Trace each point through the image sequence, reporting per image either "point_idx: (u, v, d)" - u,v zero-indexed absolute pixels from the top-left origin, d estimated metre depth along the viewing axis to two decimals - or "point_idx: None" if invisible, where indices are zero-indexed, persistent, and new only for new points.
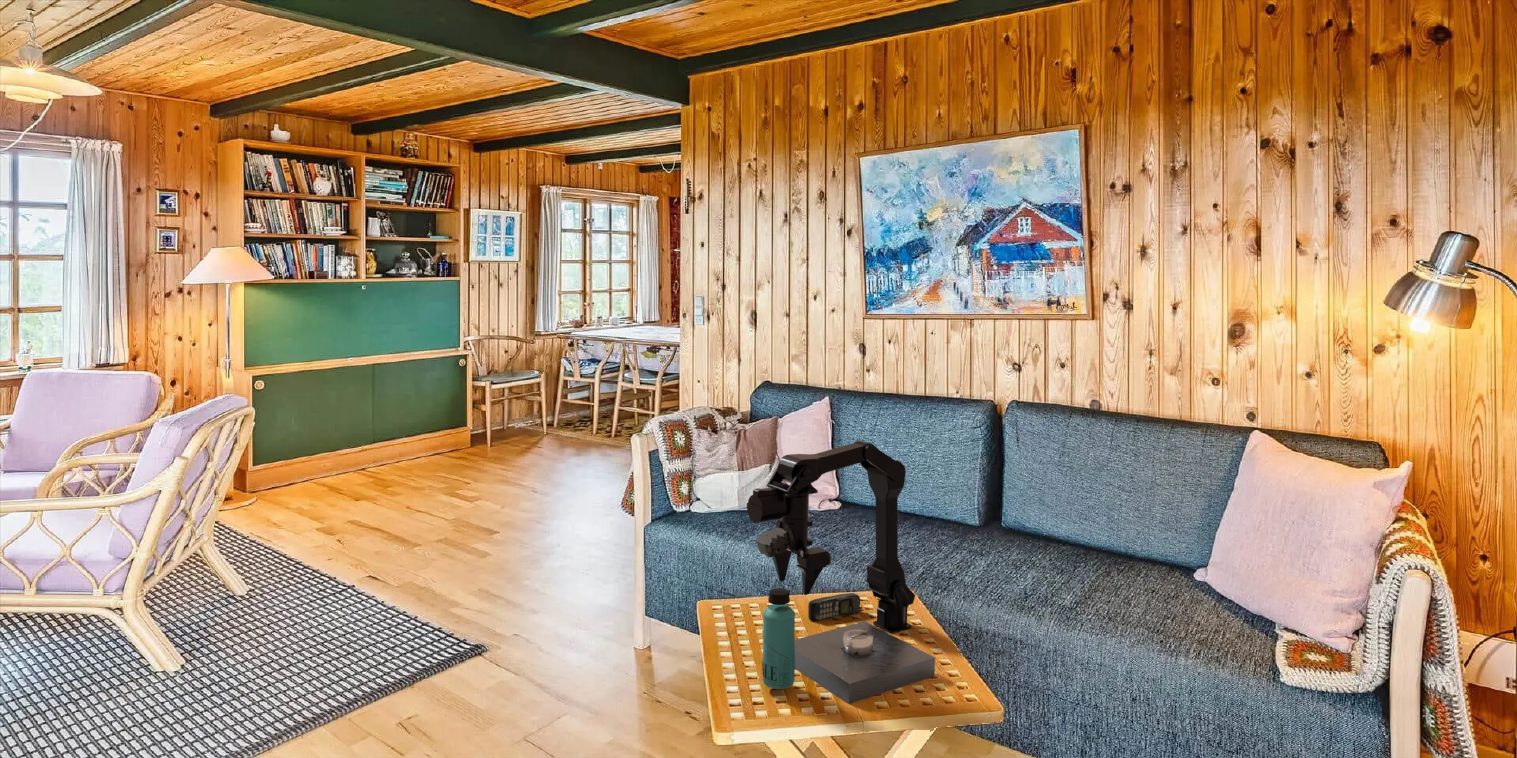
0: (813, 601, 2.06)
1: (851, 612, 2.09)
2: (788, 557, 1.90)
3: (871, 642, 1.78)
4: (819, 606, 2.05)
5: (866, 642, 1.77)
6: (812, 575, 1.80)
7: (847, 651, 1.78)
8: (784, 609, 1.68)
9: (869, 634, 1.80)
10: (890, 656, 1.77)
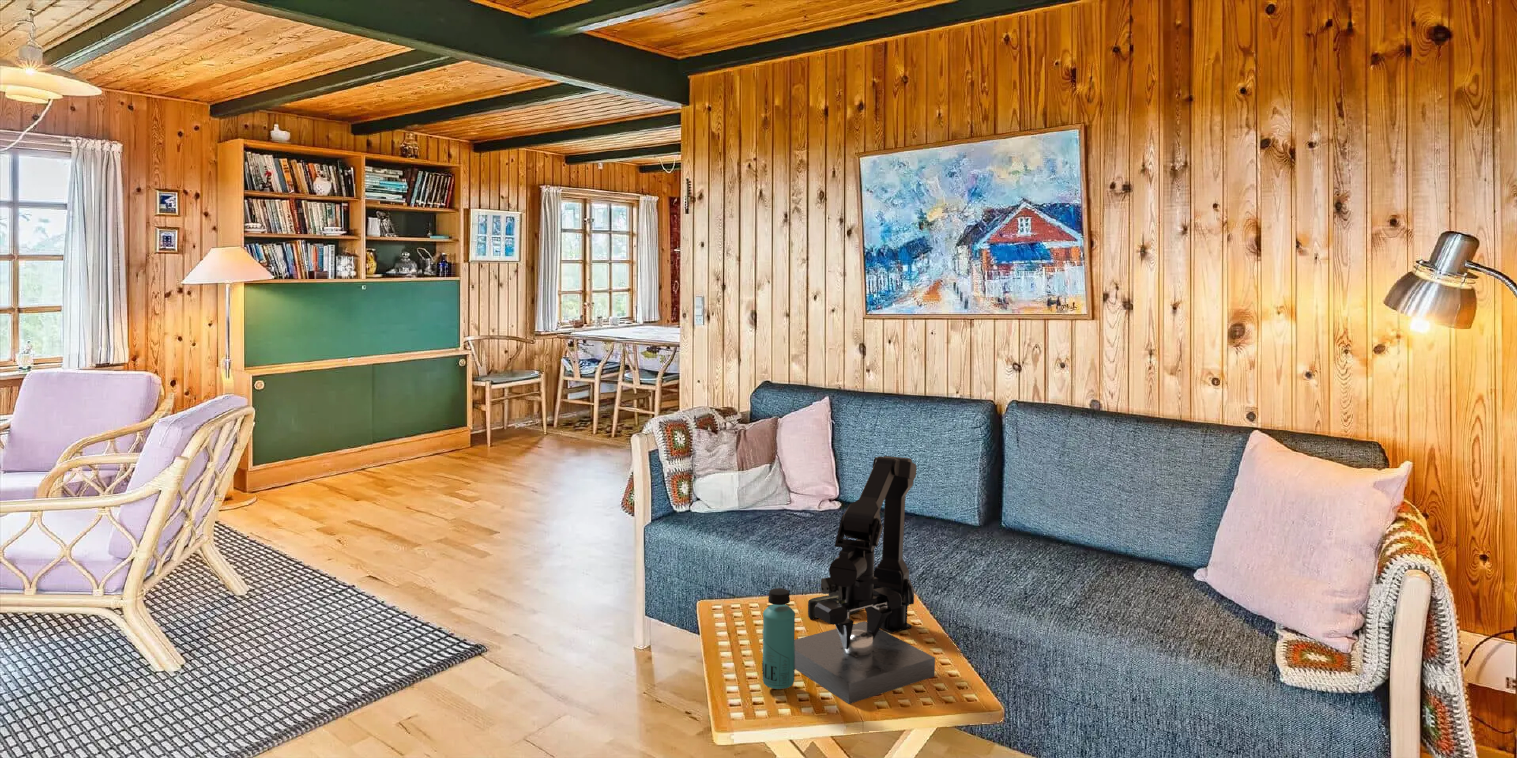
0: (813, 599, 2.07)
1: (852, 612, 2.09)
2: (877, 621, 1.80)
3: (871, 642, 1.78)
4: None
5: (866, 642, 1.77)
6: (843, 630, 1.76)
7: (847, 651, 1.78)
8: (784, 609, 1.68)
9: (869, 634, 1.80)
10: (890, 656, 1.77)
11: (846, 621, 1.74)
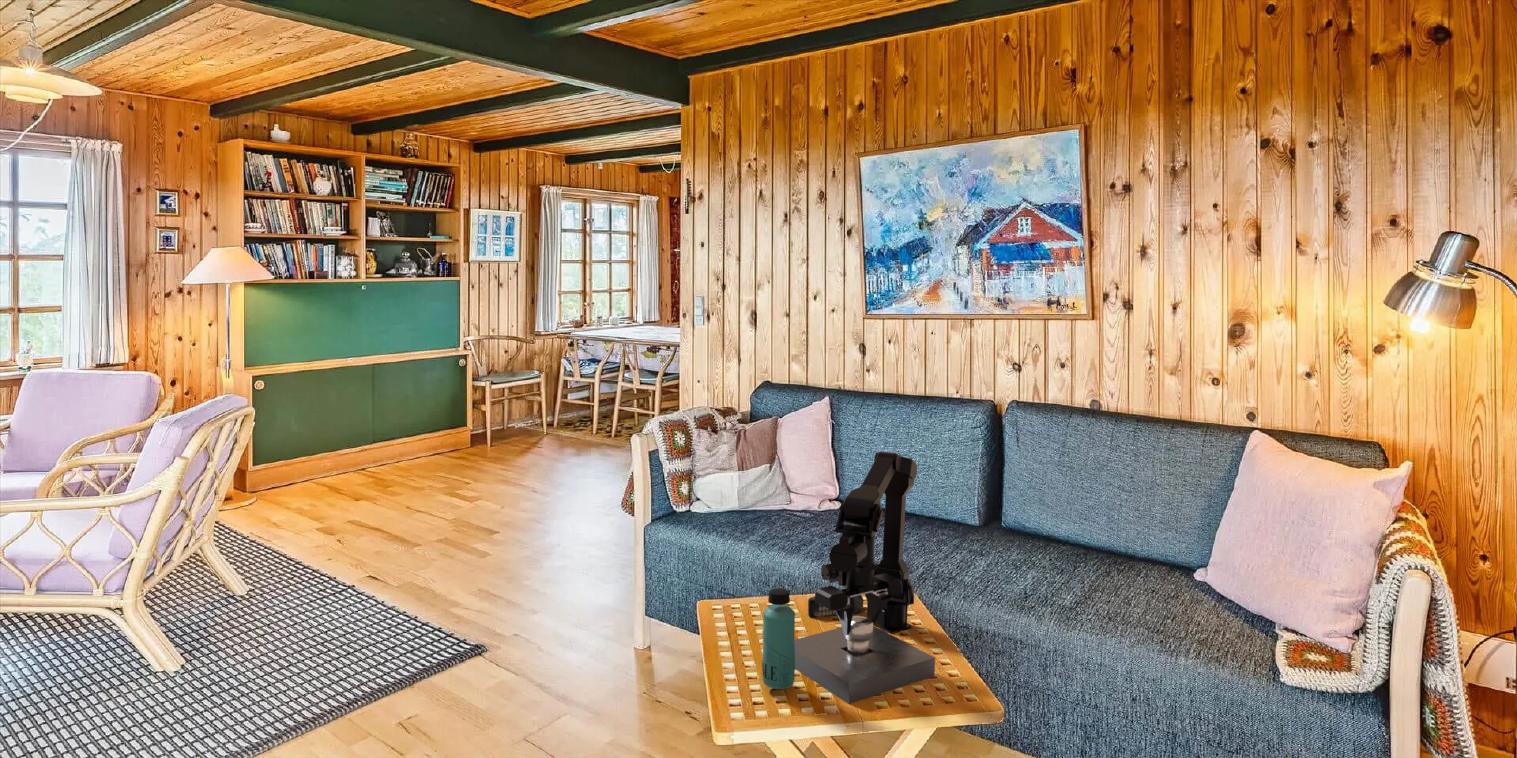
0: (812, 598, 2.08)
1: (853, 612, 2.09)
2: (877, 607, 1.79)
3: (871, 628, 1.78)
4: None
5: (866, 628, 1.77)
6: (843, 616, 1.76)
7: (847, 637, 1.78)
8: (784, 609, 1.68)
9: (869, 620, 1.80)
10: (890, 656, 1.77)
11: (847, 607, 1.74)
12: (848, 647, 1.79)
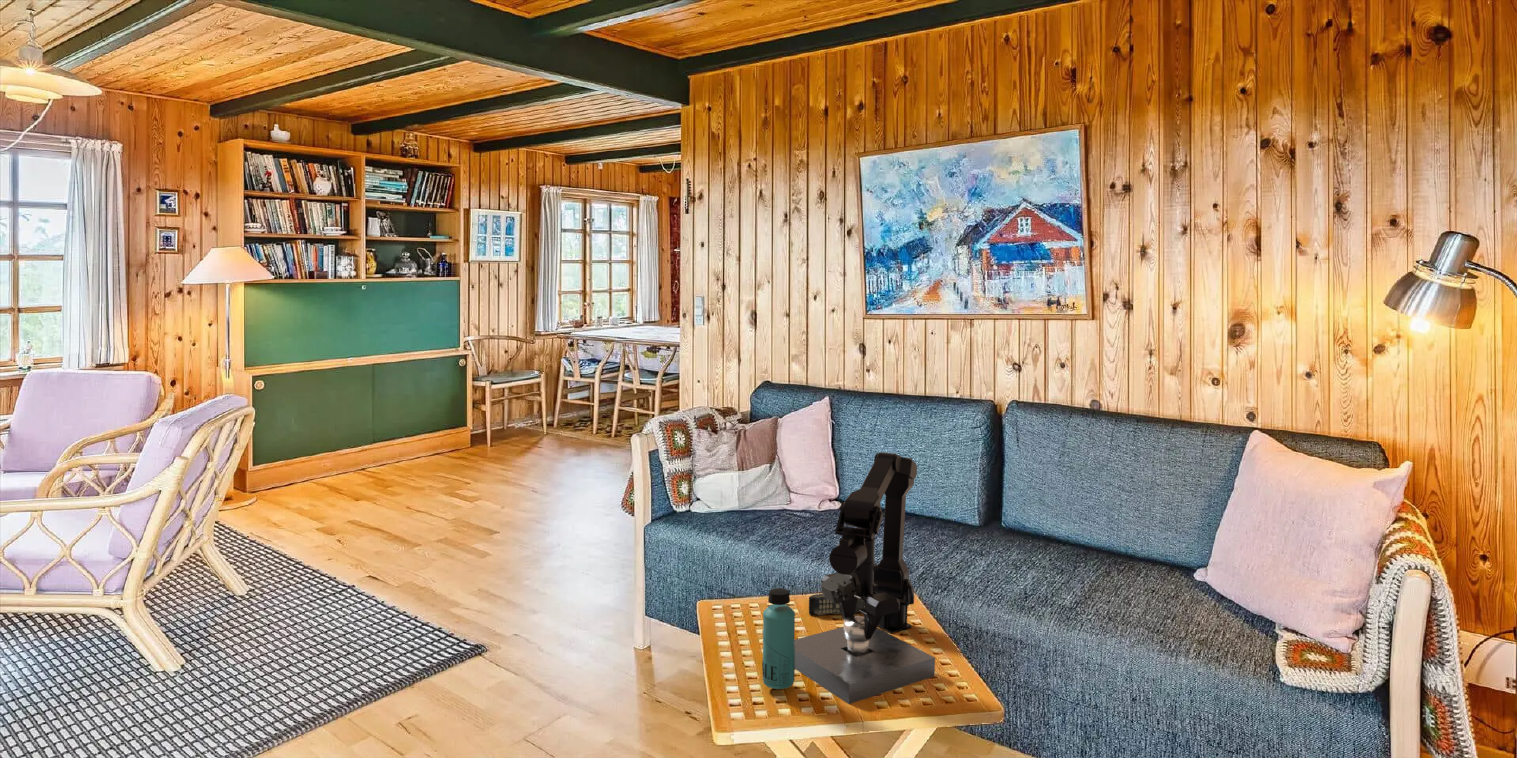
0: (813, 596, 2.09)
1: None
2: (855, 603, 1.83)
3: None
4: (818, 601, 2.08)
5: None
6: (875, 619, 1.76)
7: (847, 637, 1.78)
8: (784, 609, 1.68)
9: None
10: (890, 656, 1.77)
11: None
12: (848, 647, 1.79)
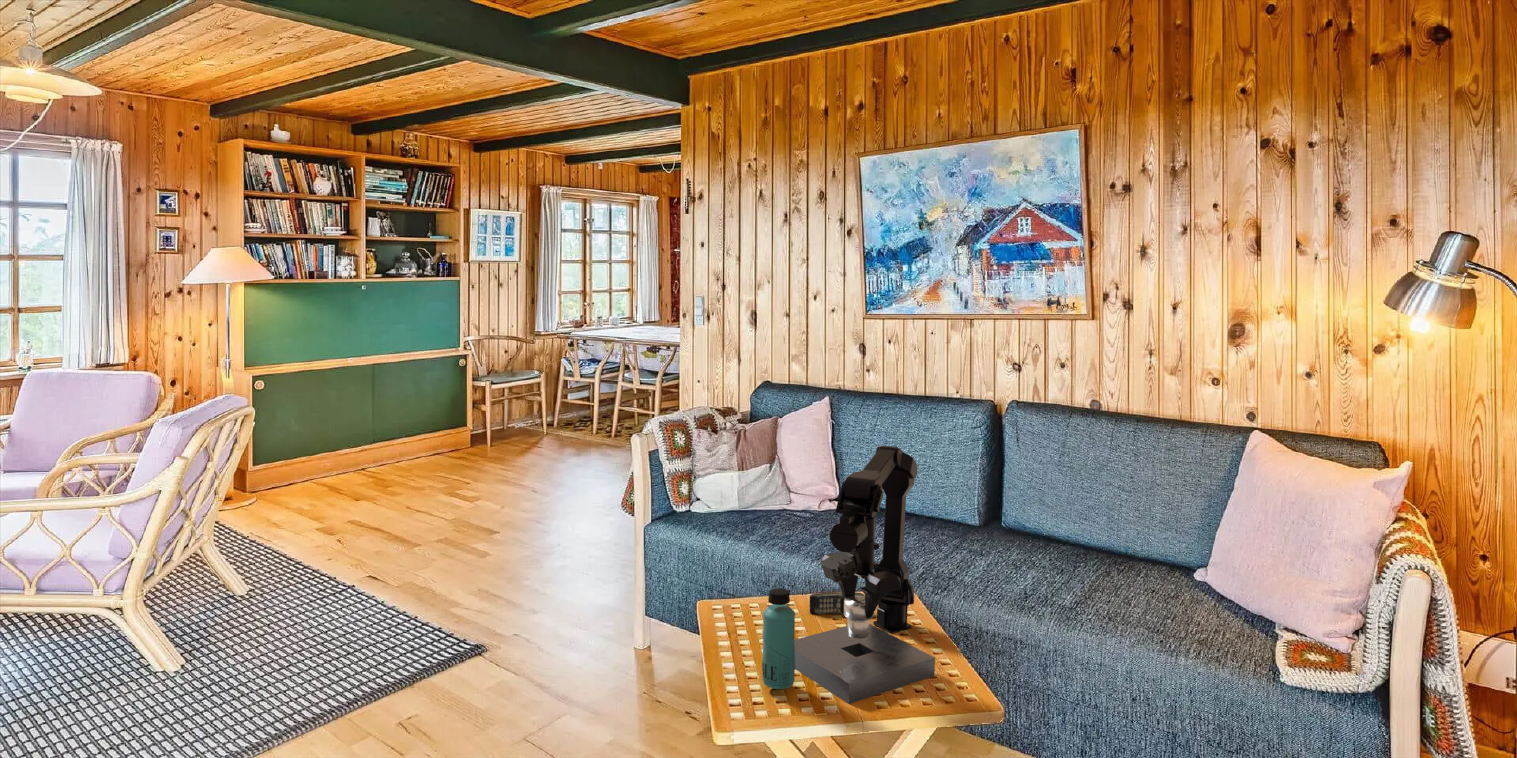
0: (814, 594, 2.10)
1: None
2: (855, 582, 1.82)
3: None
4: (818, 600, 2.09)
5: None
6: (875, 598, 1.75)
7: (848, 616, 1.77)
8: (784, 609, 1.68)
9: None
10: (890, 656, 1.77)
11: None
12: (848, 626, 1.79)
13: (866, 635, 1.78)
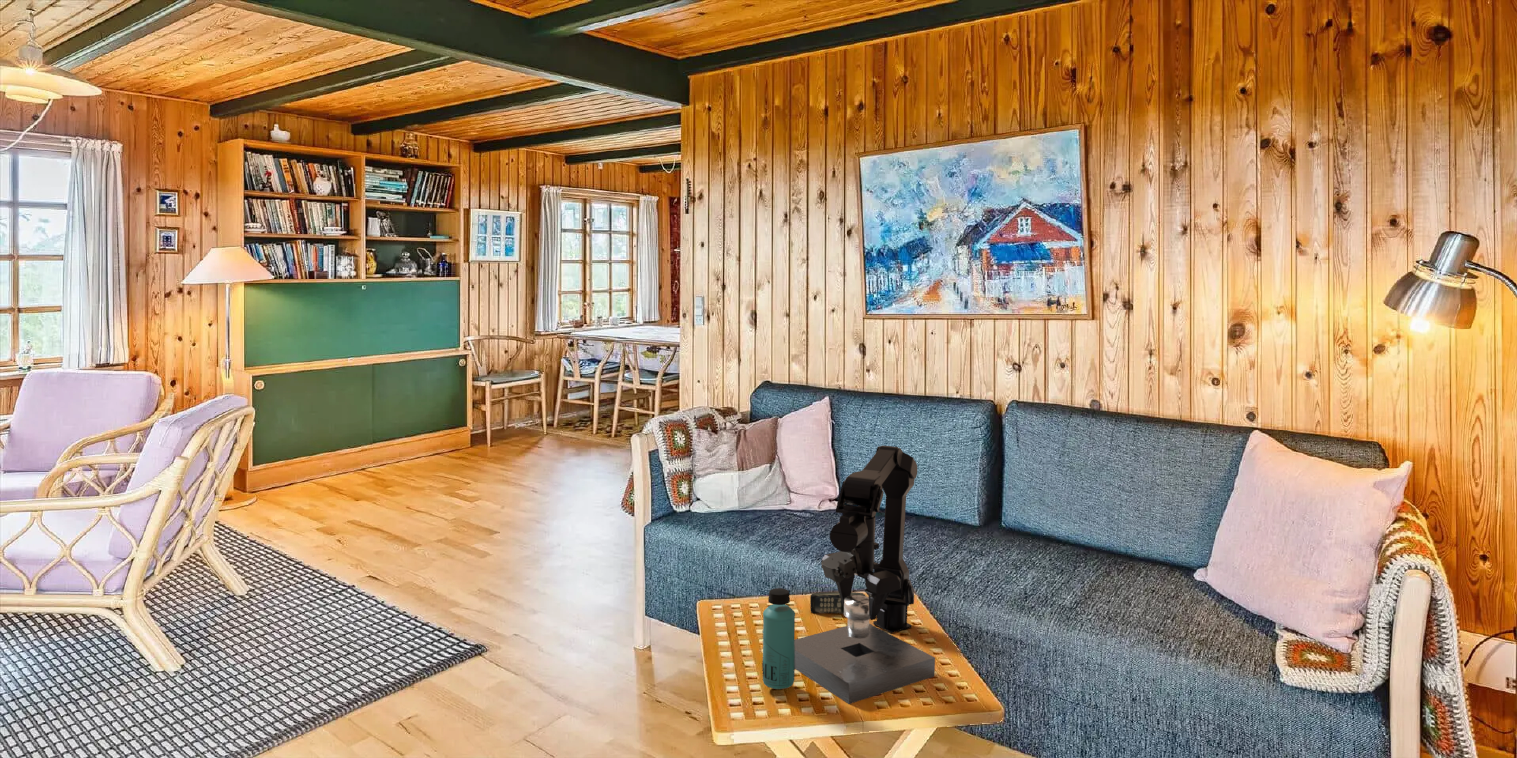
0: (815, 594, 2.10)
1: None
2: (851, 580, 1.83)
3: None
4: (819, 599, 2.09)
5: (867, 607, 1.76)
6: (879, 600, 1.74)
7: (848, 616, 1.77)
8: (784, 609, 1.68)
9: None
10: (890, 656, 1.77)
11: None
12: (848, 626, 1.79)
13: (866, 635, 1.78)
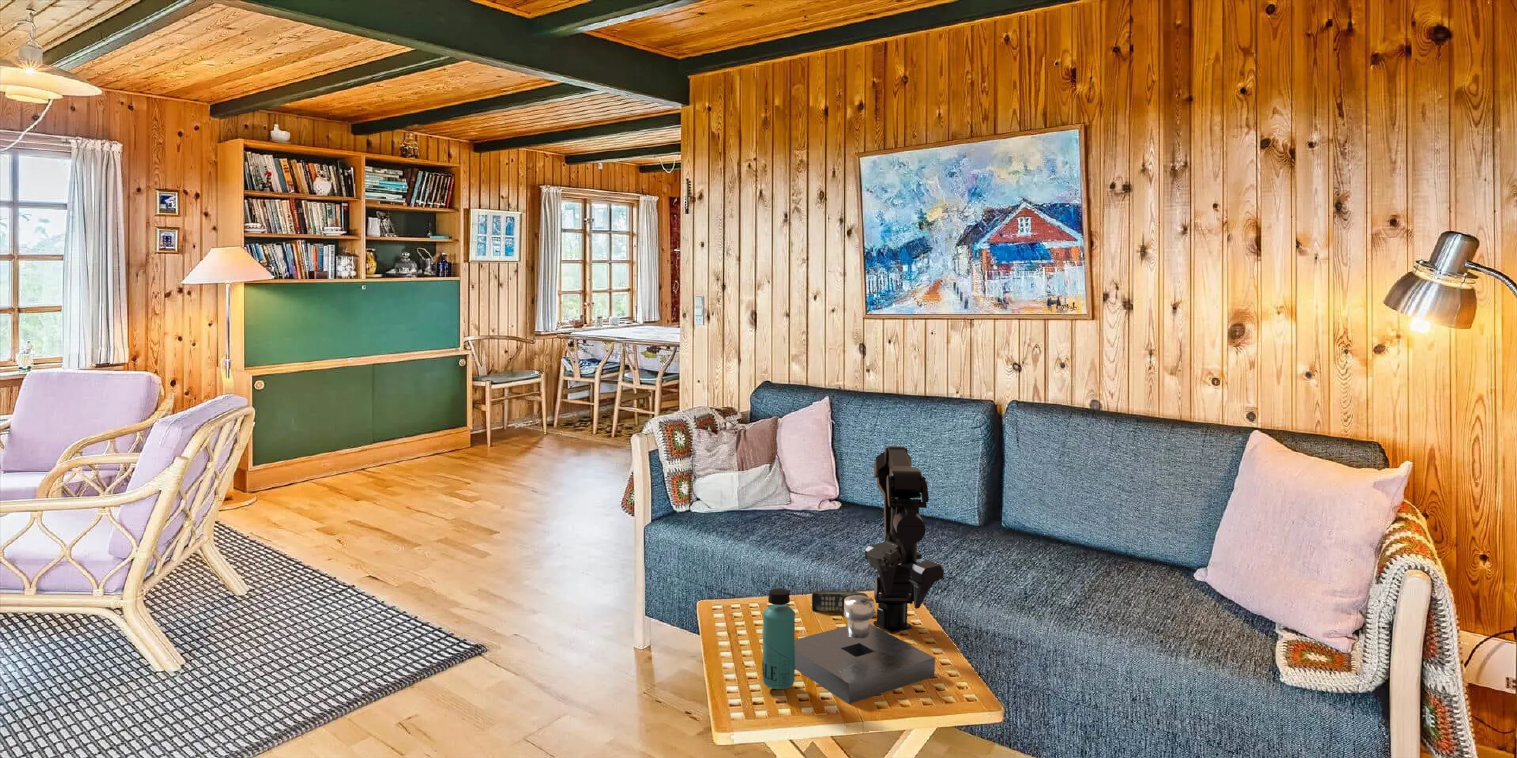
0: (816, 592, 2.12)
1: None
2: (893, 570, 1.90)
3: (872, 607, 1.77)
4: (820, 598, 2.11)
5: (867, 607, 1.76)
6: (924, 589, 1.80)
7: (848, 616, 1.77)
8: (784, 609, 1.68)
9: (870, 599, 1.79)
10: (890, 656, 1.77)
11: None
12: (848, 626, 1.79)
13: (866, 635, 1.78)
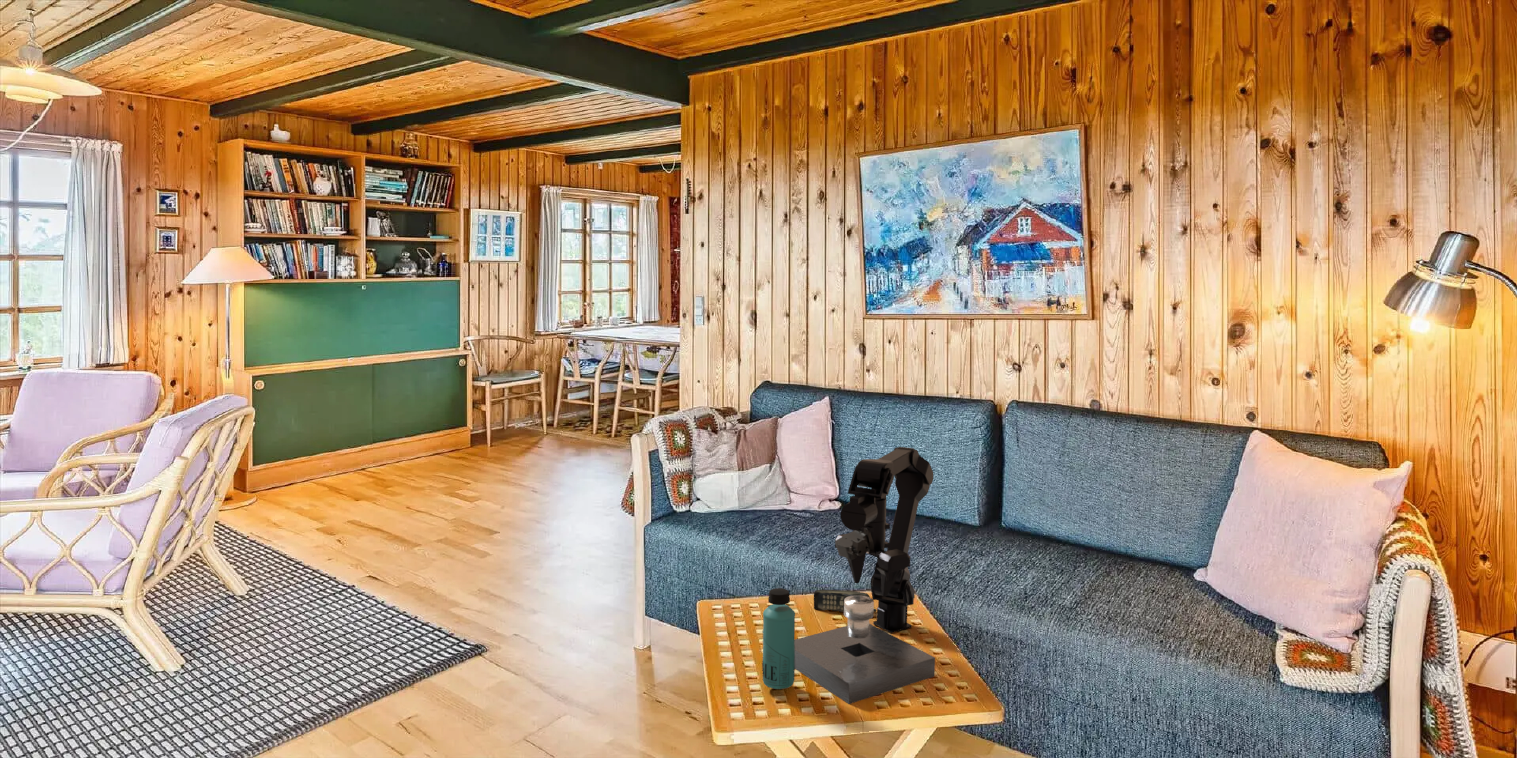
0: (818, 590, 2.13)
1: None
2: (863, 559, 1.94)
3: (872, 607, 1.77)
4: (822, 596, 2.11)
5: (867, 607, 1.76)
6: (891, 577, 1.85)
7: (848, 616, 1.77)
8: (784, 609, 1.68)
9: (870, 599, 1.79)
10: (890, 656, 1.77)
11: None
12: (848, 626, 1.79)
13: (866, 635, 1.78)
